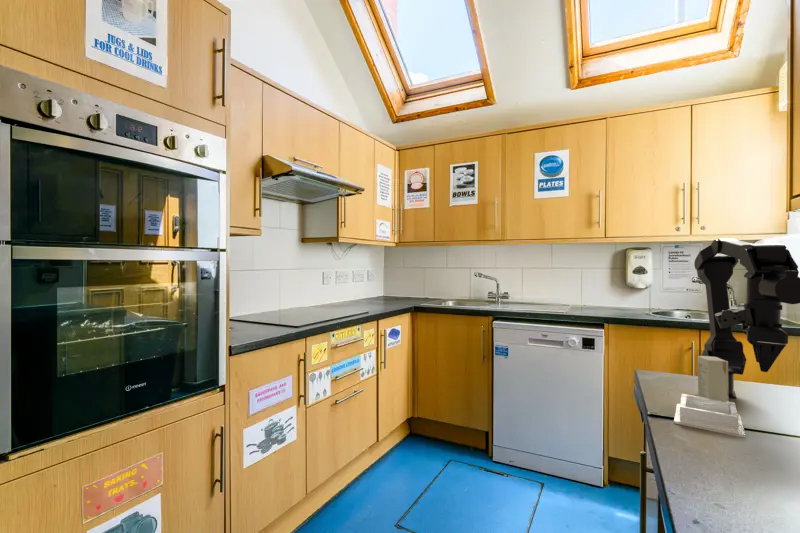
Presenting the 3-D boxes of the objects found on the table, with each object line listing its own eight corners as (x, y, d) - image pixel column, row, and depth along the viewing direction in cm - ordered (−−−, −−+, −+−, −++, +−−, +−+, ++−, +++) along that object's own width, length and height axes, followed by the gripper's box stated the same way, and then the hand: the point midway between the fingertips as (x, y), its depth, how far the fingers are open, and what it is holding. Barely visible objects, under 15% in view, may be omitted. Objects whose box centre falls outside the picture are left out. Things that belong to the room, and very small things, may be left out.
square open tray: (677, 405, 98) (677, 391, 98) (739, 417, 91) (739, 401, 91) (674, 423, 87) (674, 407, 87) (745, 438, 80) (745, 420, 80)
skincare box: (729, 412, 94) (729, 361, 94) (708, 410, 96) (708, 360, 95) (716, 403, 100) (717, 356, 100) (696, 401, 102) (697, 354, 102)
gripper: (716, 293, 101) (715, 353, 101) (718, 300, 86) (717, 370, 86) (776, 296, 94) (774, 360, 94) (789, 304, 79) (787, 380, 80)
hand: (761, 366), depth 89 cm, fingers open, 9 cm apart
